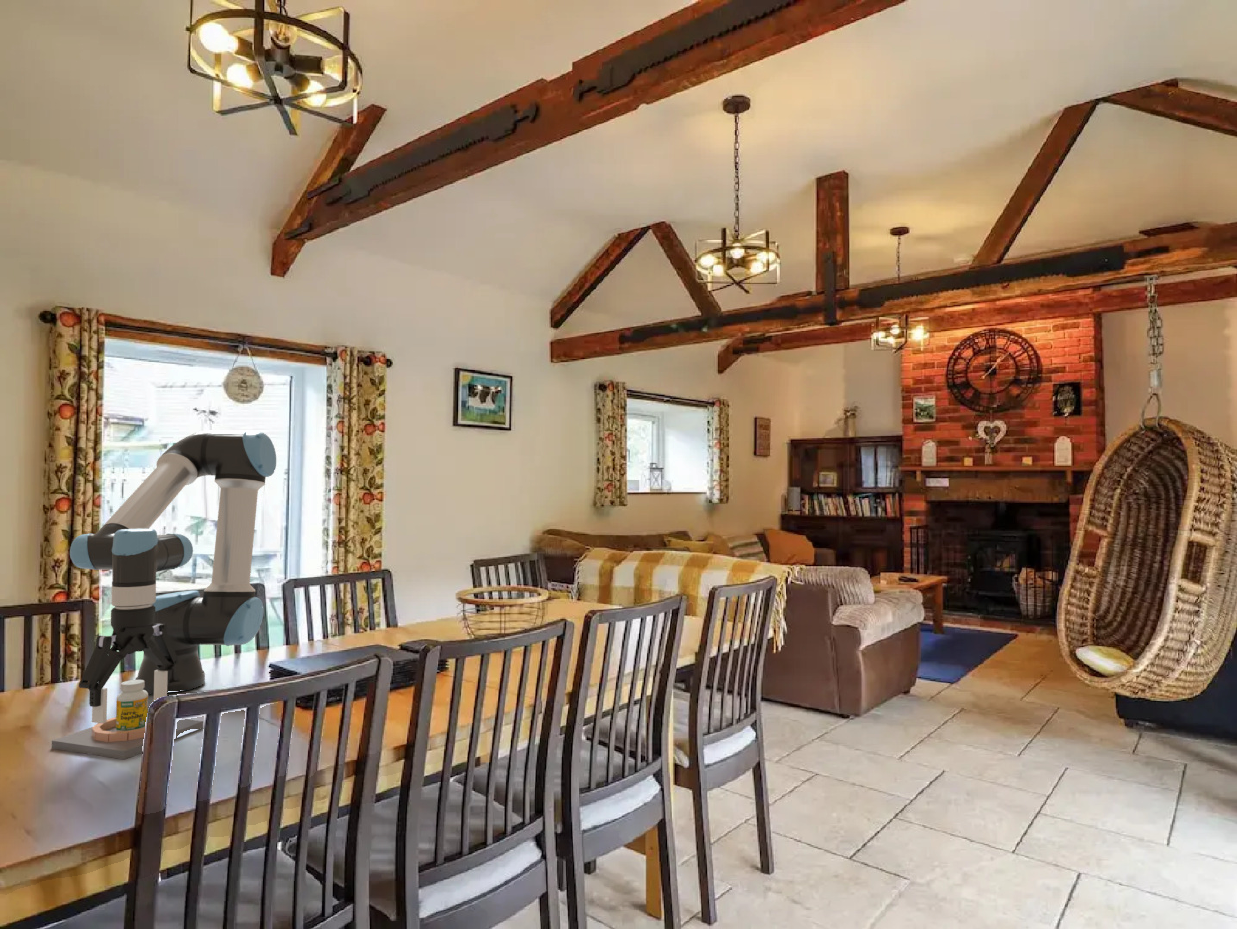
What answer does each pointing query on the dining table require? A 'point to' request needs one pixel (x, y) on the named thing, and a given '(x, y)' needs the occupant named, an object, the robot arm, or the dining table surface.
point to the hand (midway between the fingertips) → (131, 711)
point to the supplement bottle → (131, 706)
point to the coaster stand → (112, 739)
